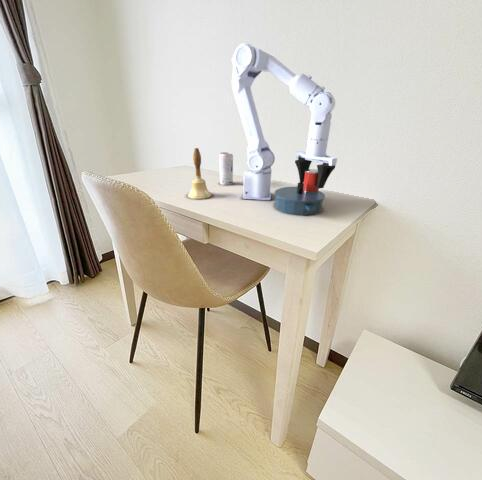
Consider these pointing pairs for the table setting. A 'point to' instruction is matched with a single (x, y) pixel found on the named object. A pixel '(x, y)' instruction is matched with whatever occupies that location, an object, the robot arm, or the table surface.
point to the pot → (298, 207)
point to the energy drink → (226, 168)
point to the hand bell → (198, 180)
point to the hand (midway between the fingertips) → (311, 185)
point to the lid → (299, 194)
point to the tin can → (310, 181)
